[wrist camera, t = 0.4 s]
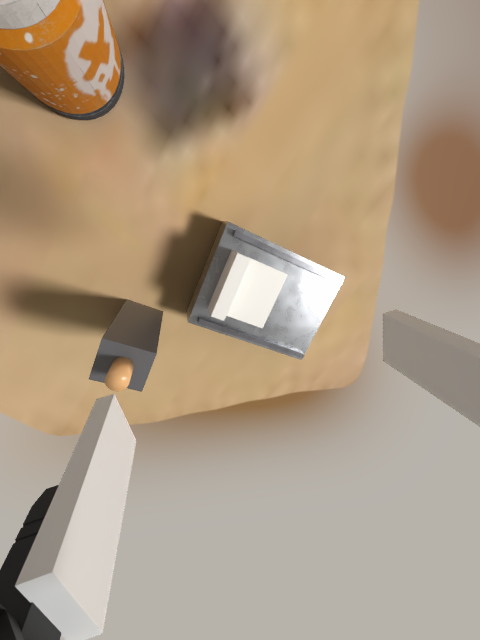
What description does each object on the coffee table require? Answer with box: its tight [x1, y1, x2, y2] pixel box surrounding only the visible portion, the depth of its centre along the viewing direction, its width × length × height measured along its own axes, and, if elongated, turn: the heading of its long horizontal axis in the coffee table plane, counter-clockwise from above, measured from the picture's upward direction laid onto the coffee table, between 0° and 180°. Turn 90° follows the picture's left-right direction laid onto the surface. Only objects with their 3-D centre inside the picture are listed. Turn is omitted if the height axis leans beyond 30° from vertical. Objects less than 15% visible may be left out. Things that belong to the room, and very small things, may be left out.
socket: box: [187, 221, 345, 360], centre depth 35 cm, size 16×12×5 cm
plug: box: [89, 300, 163, 392], centre depth 28 cm, size 4×4×14 cm
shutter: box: [208, 250, 288, 328], centre depth 31 cm, size 7×7×3 cm
